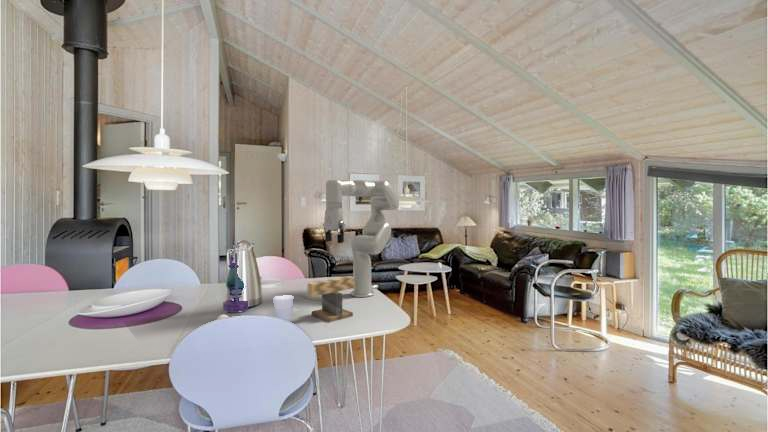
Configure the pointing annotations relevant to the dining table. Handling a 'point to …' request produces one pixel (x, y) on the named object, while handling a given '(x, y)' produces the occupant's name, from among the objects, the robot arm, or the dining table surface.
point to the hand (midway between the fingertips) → (334, 241)
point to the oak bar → (330, 286)
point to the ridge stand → (332, 308)
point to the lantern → (234, 288)
